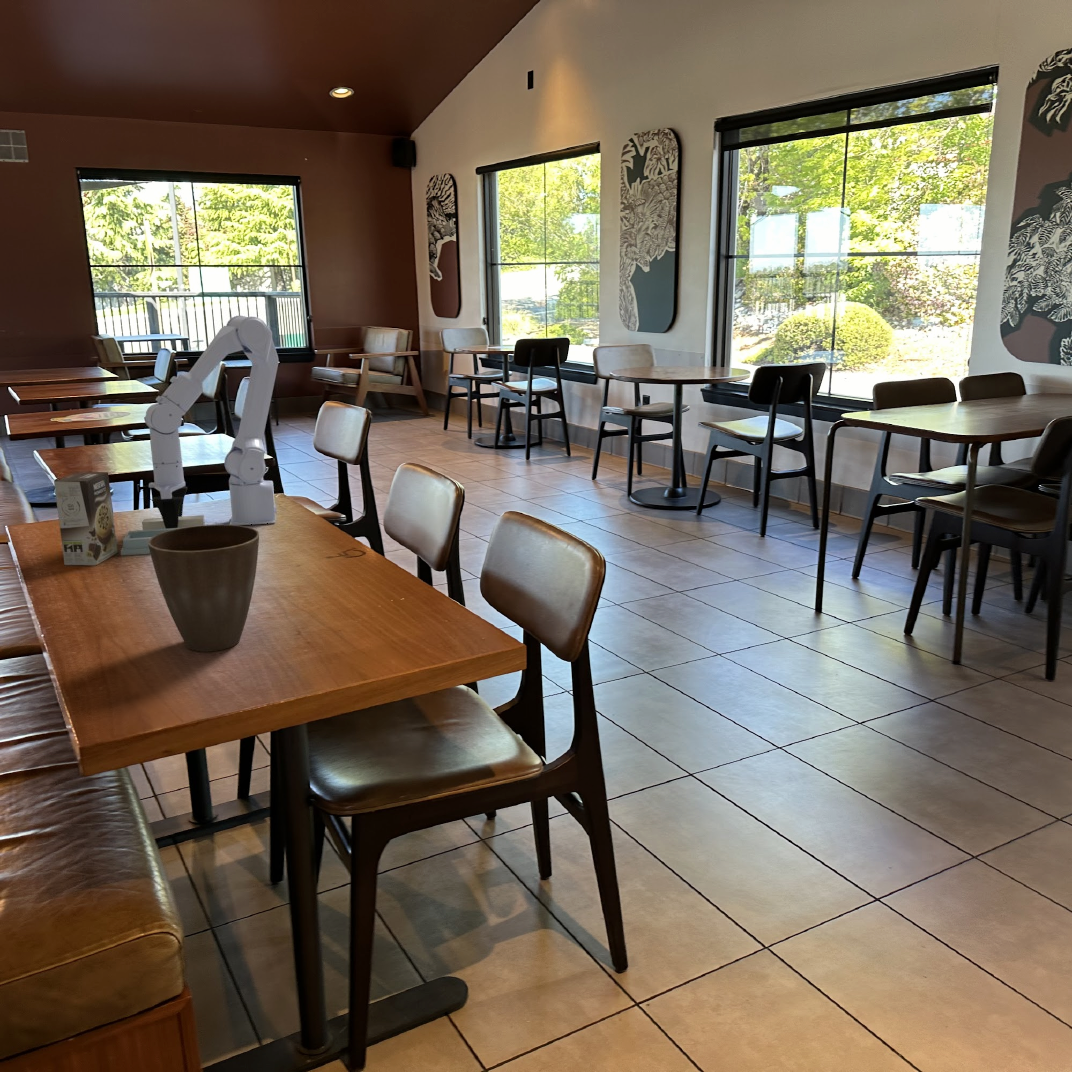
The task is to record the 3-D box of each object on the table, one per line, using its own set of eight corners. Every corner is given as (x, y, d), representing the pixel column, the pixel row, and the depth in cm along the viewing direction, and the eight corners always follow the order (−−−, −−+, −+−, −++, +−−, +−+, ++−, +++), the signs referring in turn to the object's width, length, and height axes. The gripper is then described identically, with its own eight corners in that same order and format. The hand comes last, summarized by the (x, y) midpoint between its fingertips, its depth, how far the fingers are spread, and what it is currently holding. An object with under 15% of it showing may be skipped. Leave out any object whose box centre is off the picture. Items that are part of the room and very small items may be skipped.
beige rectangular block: (205, 529, 204) (203, 515, 203) (204, 533, 201) (202, 518, 200) (145, 533, 201) (143, 518, 200) (143, 537, 198) (141, 522, 197)
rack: (211, 538, 196) (210, 525, 195) (208, 549, 187) (206, 535, 187) (128, 543, 192) (127, 530, 191) (121, 555, 184) (119, 541, 183)
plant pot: (230, 618, 149) (220, 518, 145) (288, 639, 140) (280, 534, 136) (139, 645, 138) (127, 539, 134) (196, 670, 129) (185, 557, 125)
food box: (97, 565, 177) (86, 480, 173) (63, 565, 177) (51, 480, 173) (119, 552, 186) (109, 471, 182) (86, 552, 186) (76, 471, 182)
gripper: (151, 456, 203) (158, 518, 207) (141, 469, 189) (149, 535, 193) (186, 455, 205) (192, 516, 208) (179, 467, 191) (185, 532, 195)
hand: (174, 525), depth 201 cm, fingers open, 7 cm apart
